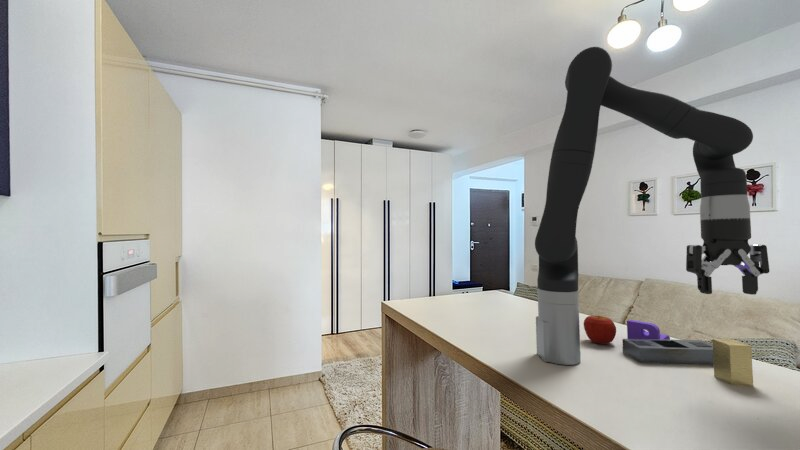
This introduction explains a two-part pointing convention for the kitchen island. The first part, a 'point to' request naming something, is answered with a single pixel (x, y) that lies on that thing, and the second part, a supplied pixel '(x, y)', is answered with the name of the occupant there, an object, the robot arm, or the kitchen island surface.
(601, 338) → the apple
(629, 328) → the bracket
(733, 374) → the tan block
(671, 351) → the grey base plate
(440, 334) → the kitchen island surface
